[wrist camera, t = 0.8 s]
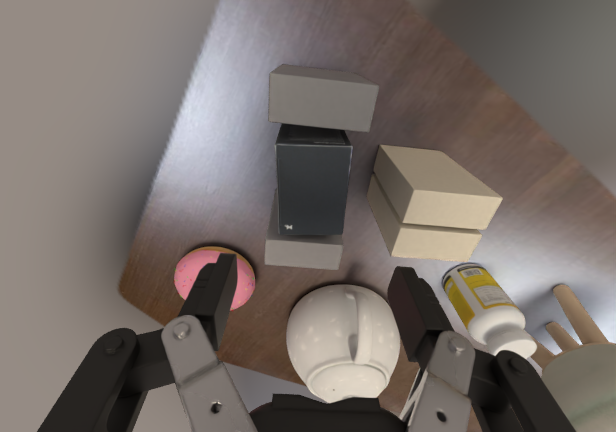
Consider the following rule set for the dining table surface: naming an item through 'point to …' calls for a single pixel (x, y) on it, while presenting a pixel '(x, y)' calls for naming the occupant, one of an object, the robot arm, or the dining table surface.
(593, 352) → the planter
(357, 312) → the teapot
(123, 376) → the robot arm
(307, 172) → the box
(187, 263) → the doughnut
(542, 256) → the dining table surface
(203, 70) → the dining table surface
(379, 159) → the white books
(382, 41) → the dining table surface
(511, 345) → the pill bottle
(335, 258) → the grey books
